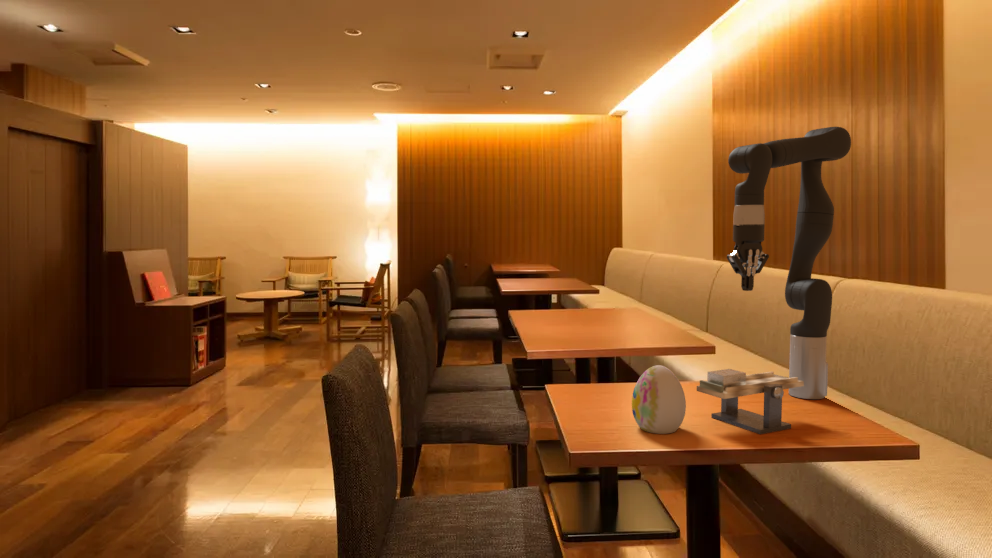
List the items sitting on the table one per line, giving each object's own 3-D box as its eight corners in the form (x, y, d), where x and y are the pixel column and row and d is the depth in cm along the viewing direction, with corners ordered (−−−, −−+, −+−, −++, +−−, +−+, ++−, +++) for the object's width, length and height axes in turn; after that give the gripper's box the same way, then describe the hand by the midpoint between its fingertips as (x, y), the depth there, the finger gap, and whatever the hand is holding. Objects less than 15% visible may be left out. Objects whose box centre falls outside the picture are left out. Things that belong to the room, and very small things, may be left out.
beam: (770, 379, 161) (771, 367, 161) (807, 388, 152) (807, 375, 151) (693, 391, 150) (693, 378, 150) (727, 401, 141) (727, 388, 140)
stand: (738, 411, 161) (739, 371, 160) (793, 429, 146) (795, 384, 145) (709, 416, 157) (709, 375, 156) (763, 435, 142) (764, 389, 141)
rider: (729, 383, 152) (729, 368, 151) (745, 387, 147) (745, 372, 147) (707, 386, 149) (707, 371, 148) (723, 390, 144) (723, 375, 144)
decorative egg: (627, 421, 153) (627, 360, 152) (677, 421, 153) (678, 360, 152) (636, 436, 141) (637, 370, 140) (691, 437, 141) (692, 371, 140)
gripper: (755, 223, 168) (754, 288, 169) (718, 223, 162) (717, 290, 163) (779, 223, 161) (777, 290, 162) (741, 222, 155) (739, 292, 156)
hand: (747, 290), depth 162 cm, fingers closed
